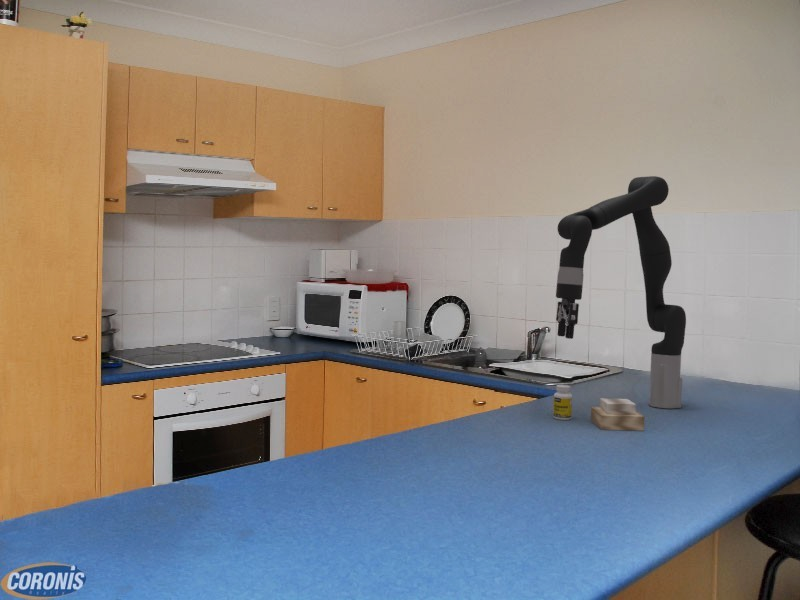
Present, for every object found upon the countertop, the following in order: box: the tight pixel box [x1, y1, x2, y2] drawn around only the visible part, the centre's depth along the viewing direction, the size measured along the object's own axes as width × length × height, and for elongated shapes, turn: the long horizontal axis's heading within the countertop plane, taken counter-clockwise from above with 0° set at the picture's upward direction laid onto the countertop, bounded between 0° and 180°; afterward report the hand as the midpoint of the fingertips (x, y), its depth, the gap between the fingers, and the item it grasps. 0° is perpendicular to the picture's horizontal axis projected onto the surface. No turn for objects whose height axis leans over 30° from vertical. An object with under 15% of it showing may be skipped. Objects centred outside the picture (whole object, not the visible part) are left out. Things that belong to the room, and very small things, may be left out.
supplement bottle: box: [552, 384, 573, 421], centre depth 232 cm, size 5×5×10 cm
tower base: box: [590, 397, 646, 432], centre depth 224 cm, size 12×12×7 cm
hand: (565, 337), depth 232 cm, fingers open, 8 cm apart
